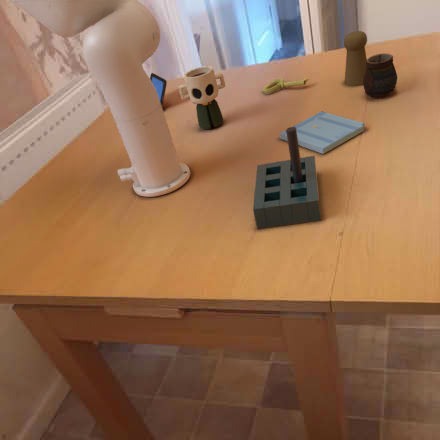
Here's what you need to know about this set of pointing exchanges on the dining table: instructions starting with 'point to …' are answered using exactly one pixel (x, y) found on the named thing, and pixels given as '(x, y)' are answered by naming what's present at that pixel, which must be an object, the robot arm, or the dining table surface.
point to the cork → (355, 58)
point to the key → (282, 85)
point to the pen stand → (286, 194)
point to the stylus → (294, 154)
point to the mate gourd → (379, 76)
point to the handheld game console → (159, 86)
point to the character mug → (204, 94)
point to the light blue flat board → (325, 131)
